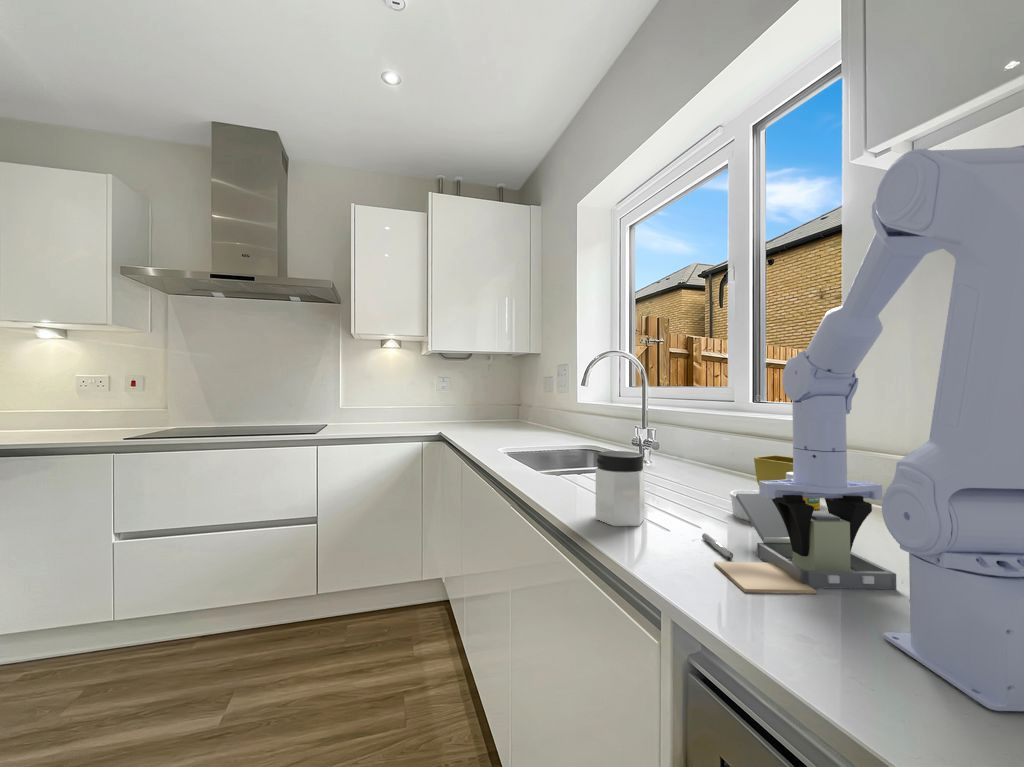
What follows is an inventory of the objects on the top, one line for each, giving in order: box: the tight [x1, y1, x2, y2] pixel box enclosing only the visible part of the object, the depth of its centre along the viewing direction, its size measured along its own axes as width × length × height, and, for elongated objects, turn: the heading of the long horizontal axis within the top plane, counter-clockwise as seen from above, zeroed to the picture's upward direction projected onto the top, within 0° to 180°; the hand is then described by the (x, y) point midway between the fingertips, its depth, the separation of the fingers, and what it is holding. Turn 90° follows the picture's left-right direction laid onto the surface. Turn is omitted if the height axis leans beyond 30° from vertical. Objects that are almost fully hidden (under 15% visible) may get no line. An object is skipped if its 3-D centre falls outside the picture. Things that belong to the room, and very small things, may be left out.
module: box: [792, 510, 852, 571], centre depth 56 cm, size 4×4×7 cm
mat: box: [713, 561, 817, 595], centre depth 53 cm, size 8×8×1 cm
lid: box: [736, 494, 791, 544], centre depth 65 cm, size 8×9×7 cm
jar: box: [595, 450, 645, 527], centre depth 78 cm, size 9×8×12 cm
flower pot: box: [753, 454, 793, 486], centre depth 93 cm, size 9×9×9 cm
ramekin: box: [729, 489, 759, 522], centre depth 80 cm, size 9×9×4 cm
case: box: [756, 542, 897, 590], centre depth 56 cm, size 10×11×2 cm
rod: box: [701, 532, 734, 560], centre depth 63 cm, size 8×1×1 cm, turn 178°
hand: (820, 553), depth 56 cm, fingers open, 5 cm apart
